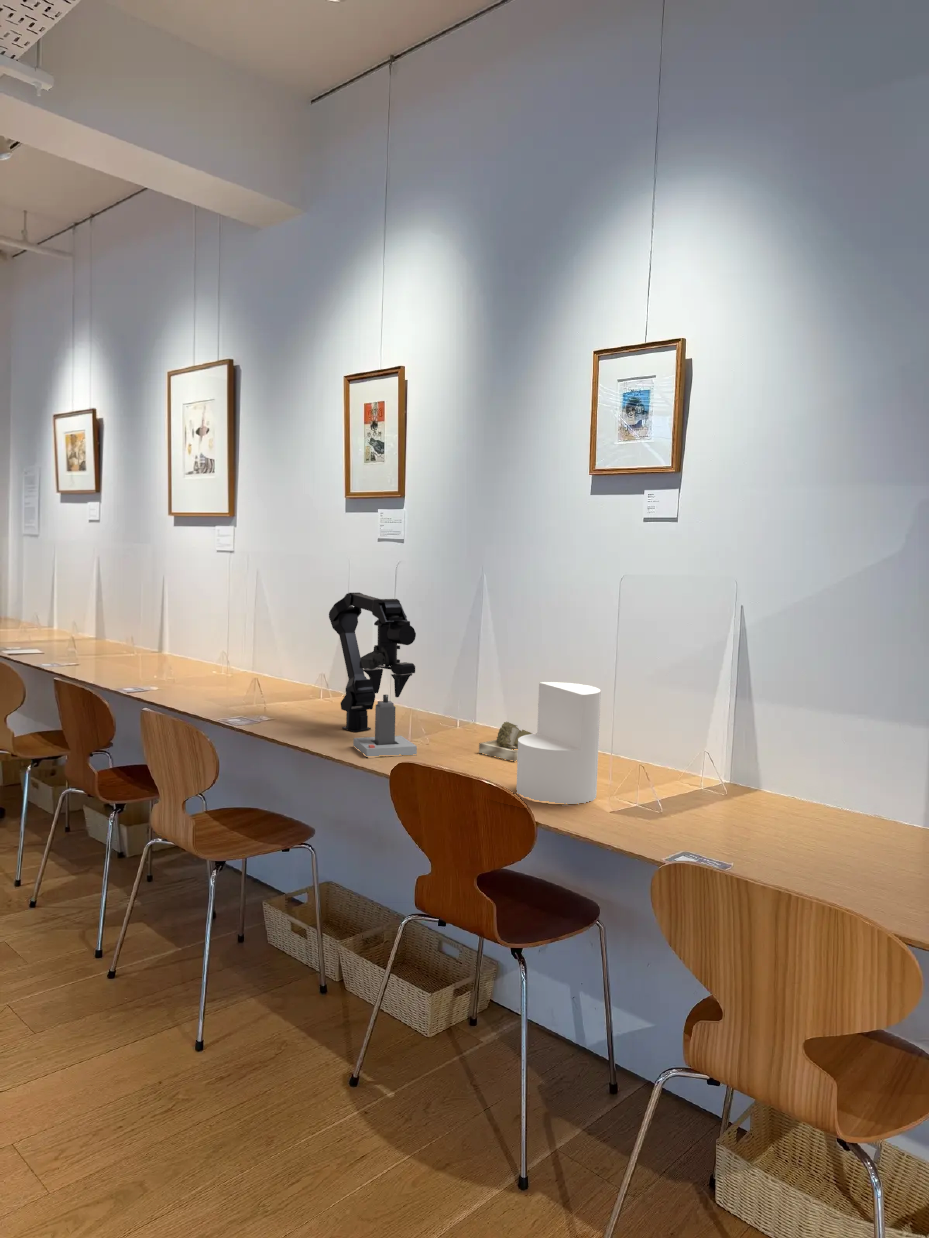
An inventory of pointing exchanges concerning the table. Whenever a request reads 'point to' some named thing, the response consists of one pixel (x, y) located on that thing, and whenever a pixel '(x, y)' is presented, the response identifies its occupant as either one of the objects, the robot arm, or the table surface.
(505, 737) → the toy
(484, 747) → the tray
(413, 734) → the table surface
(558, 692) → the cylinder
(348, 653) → the robot arm
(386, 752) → the socket
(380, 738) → the plug
